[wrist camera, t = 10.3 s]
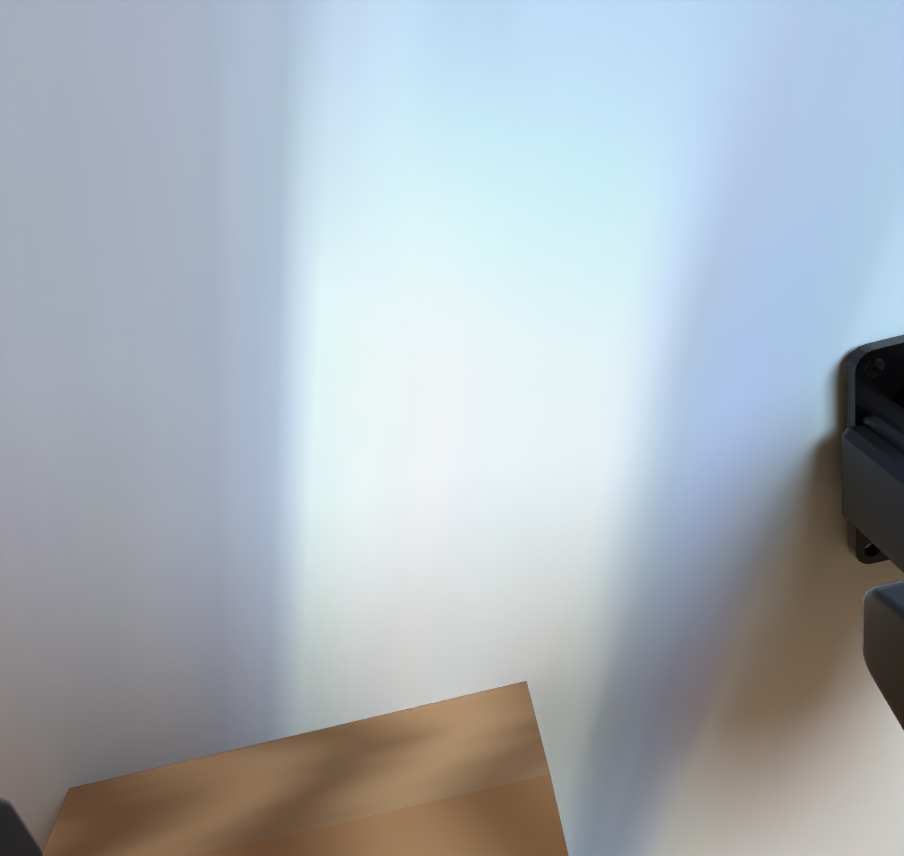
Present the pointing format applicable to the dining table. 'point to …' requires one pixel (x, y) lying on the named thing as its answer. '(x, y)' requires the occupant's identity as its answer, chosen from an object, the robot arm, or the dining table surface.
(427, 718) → the brown block
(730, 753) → the dining table surface
